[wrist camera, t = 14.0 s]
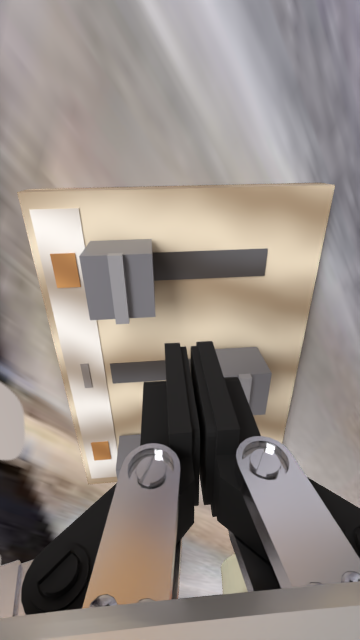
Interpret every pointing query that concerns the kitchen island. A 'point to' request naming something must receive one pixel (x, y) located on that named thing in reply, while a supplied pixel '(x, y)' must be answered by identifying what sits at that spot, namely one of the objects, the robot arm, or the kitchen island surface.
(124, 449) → the switch tab
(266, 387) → the switch tab
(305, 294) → the switch panel
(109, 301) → the switch tab
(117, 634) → the robot arm
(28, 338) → the kitchen island surface
